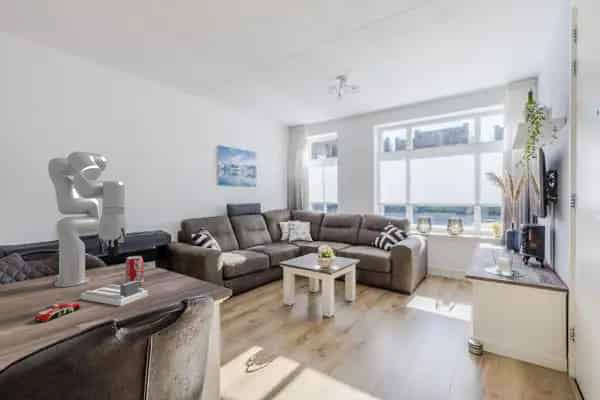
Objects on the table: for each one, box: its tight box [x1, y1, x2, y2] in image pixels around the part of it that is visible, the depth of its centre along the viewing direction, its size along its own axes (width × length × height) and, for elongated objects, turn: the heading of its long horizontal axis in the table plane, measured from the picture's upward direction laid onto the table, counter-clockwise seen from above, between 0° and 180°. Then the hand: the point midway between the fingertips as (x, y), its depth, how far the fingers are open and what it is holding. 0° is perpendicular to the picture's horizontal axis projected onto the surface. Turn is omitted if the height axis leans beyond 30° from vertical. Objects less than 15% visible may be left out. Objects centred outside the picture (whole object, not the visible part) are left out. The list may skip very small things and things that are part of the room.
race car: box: [34, 302, 81, 322], centre depth 97 cm, size 13×5×4 cm, turn 167°
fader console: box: [80, 283, 149, 307], centre depth 114 cm, size 22×12×3 cm, turn 71°
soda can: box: [125, 255, 144, 286], centre depth 130 cm, size 7×7×13 cm
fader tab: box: [119, 281, 140, 297], centre depth 111 cm, size 3×6×4 cm, turn 161°
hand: (112, 255), depth 114 cm, fingers closed
